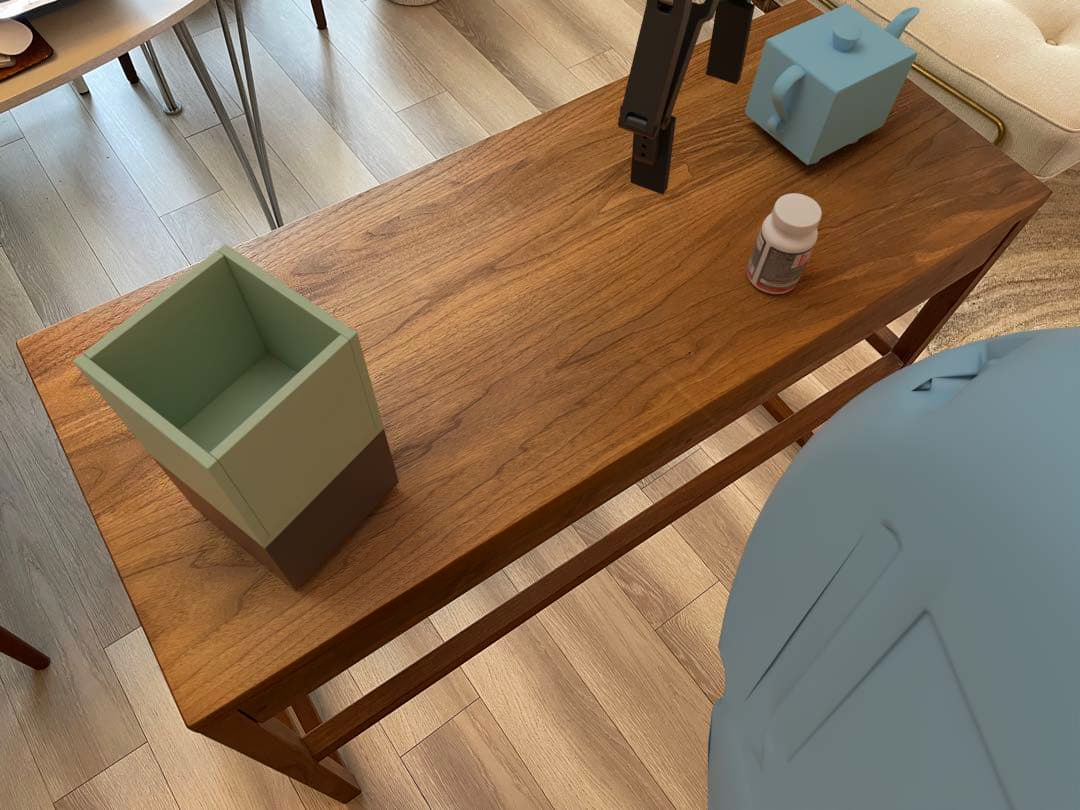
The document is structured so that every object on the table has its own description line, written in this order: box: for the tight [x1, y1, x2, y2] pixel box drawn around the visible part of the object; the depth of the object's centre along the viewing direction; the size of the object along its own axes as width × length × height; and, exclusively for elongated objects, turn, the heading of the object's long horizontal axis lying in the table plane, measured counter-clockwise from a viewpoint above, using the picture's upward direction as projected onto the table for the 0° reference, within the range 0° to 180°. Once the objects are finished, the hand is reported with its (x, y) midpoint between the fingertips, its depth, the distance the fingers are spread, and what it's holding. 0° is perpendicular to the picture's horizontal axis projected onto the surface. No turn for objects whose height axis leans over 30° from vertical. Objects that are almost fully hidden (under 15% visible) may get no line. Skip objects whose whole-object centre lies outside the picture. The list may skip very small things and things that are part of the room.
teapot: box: [744, 4, 921, 166], centre depth 95 cm, size 22×11×14 cm, turn 125°
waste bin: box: [72, 244, 400, 593], centre depth 62 cm, size 13×13×23 cm
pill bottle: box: [746, 192, 823, 295], centre depth 83 cm, size 6×6×10 cm
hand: (687, 129), depth 62 cm, fingers open, 13 cm apart
